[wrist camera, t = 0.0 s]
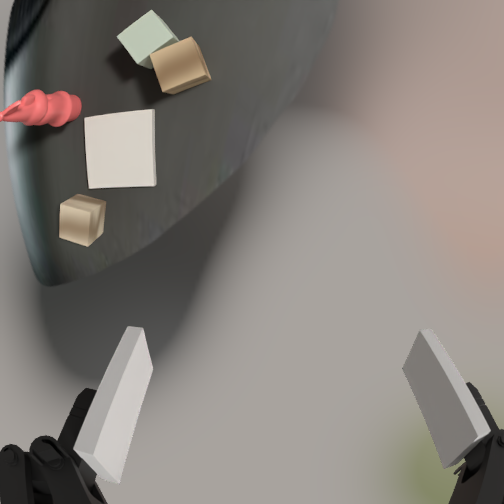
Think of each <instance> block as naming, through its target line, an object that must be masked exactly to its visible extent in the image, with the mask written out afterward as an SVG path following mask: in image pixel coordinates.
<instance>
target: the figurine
mask: <svg viewBox="0 0 504 504" xmlns="http://www.w3.org/2000/svg"><path fill="white" fill-rule="evenodd" d="M80 112H81V101H80V99H79V98H78V97H77V96H76V95H69V94H68V93H67V92H65V91H57V92H55V93H53V94H47V95H45V93H44V92H43V91H41V90H33V91H30V92H29V93H27V94H26V95H25V96H24V97H23V98H22V100H21V101H20V100H19V101H17V102H15V103H13V104H12V105H10V106H9V107H8V108H6V109H5V110H4V111H3V112H0V122H1V121H7V122H22V123H23V124H25V125H27V126H31V125H43V124H47V123H49V124H50V125H51V126H54V127H59V126H62V125H63V124H65V123H66V122H70V121H73V120H75V119H76V118H77V117H78V116H79V114H80Z"/></svg>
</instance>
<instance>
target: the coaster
mask: <svg viewBox="0 0 504 504" xmlns="http://www.w3.org/2000/svg"><path fill="white" fill-rule="evenodd" d="M85 145H86V161H87V173H88V183H89V189H92V188H111V187H139V186H155V185H156V165H155V109H150V110H139V111H130V112H121V113H114V114H106V115H100V116H93V117H87V118H85Z"/></svg>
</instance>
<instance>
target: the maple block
mask: <svg viewBox="0 0 504 504" xmlns="http://www.w3.org/2000/svg"><path fill="white" fill-rule="evenodd" d="M105 207H106V201H103V200H99V199H96V198H92V197H88V196H84V195H80V194H77V195H75V196H73V197H72V198H70V199H68V200H66V201H65V202H63V203H61V204H60V230H59V237H60V238H63V239H66V240H69V241H72V242H75V243H78V244H81V245H84V246H87V247H88V246H89V245H90V244H91V243H92V242H94V241H95V240H96V239H97V238H98V237H99V236H100V235H101V234H102V233H103V226H104V216H105Z"/></svg>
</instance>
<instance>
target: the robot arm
mask: <svg viewBox="0 0 504 504" xmlns="http://www.w3.org/2000/svg"><path fill="white" fill-rule="evenodd" d="M402 369H403V371H404V373H405V375H406V378H407V380H408V382H409V384H410V386H411V389H412V391H413V393H414V395H415V397H416V400H417V402H418V405H419V407H420V409H421V411H422V414H423V416H424V419H425V421H426V424H427V426H428V428H429V431H430V433H431V436H432V438H433V441H434V444H435V446H436V449H437V451H438V454H439V457H440V459H441V462H442V465H443V468H444V469H445V468H448V467H451V466H453V465H456V464H457V463H459V462H460V461H461V460H462V459H463V458H464V459H465V461H466V462H465V463H463V464H462V465H461V466H460V467H459V468H458V469H457V470H456V471H455V472H454V474H457V473H458V472H459V471H460V470H461V472H460V473H459V474H458V476H459V477H458V480H457V483H456V486H455V489H454V492H453V494H452V496H451V499H450V501H449V504H504V430H503V429H501V430H499V428H498V426H497V425H496V423H495V421H494V419H493V417H492V415H491V413H490V411H489V409H488V408H487V406H486V405H485V403H484V401H483V399H482V398H481V395H480V393H479V392H478V390H477V389H476V388H475V387H474V386H473V385H472V384H471V383H470V382H468V383H465V382H464V380H463V378H462V377H461V375H460V373H459V371H458V370H457V368H456V366H455V365H454V363H453V362H452V360H451V358H450V357H449V355H448V354H447V352H446V350H445V349H444V347H443V346H442V344H441V342H440V341H439V339H438V338H437V336H436V335H435V333H434V332H433V330H432V329H423V330H420V331H419V333H418V335H417V338H416V340H415V342H414V344H413V346H412V349H411V351H410V353H409V355H408V357H407V359H406V362H405V364H404V366H403V368H402ZM152 371H153V366H152V362H151V359H150V355H149V351H148V347H147V343H146V339H145V334H144V331H143V328H139V327H130V326H128V327H127V329H126V331H125V333H124V335H123V337H122V339H121V341H120V343H119V345H118V347H117V349H116V351H115V353H114V355H113V358H112V359H111V362H110V364H109V366H108V368H107V370H106V373H105V374H104V377H103V379H102V381H101V384H100V386H99V388H98V390H93V389H89V388H85V389H84V390H83V391H82V392H81V393H80V394H79V395H78V396H77V398H76V401H75V403H74V405H73V408H72V409H71V411H70V415H69V416H68V418H67V420H66V422H65V424H64V427H63V429H62V431H61V433H60V436H59V438H58V441H57V440H55V439H54V438H53V437H50V436H40V437H38V438H36V439H35V440H34V441H33V442H32V443H31V446H30V452H24V451H23V450H22V449H21V448H19V447H18V446H17V445H13V444H10V445H6V446H5V447H3V448H2V450H1V451H0V502H1V504H107V502H106V500H105V498H104V496H103V494H102V492H101V491H100V489H99V487H98V485H97V483H96V482H95V478H96V475H98V476H99V477H100V478H101V479H103V480H106V481H110V482H114V483H117V484H120V480H121V475H122V472H123V468H124V464H125V461H126V457H127V453H128V450H129V446H130V443H131V439H132V436H133V432H134V429H135V425H136V422H137V418H138V415H139V412H140V409H141V406H142V402H143V399H144V396H145V392H146V390H147V386H148V383H149V380H150V377H151V374H152Z"/></svg>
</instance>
